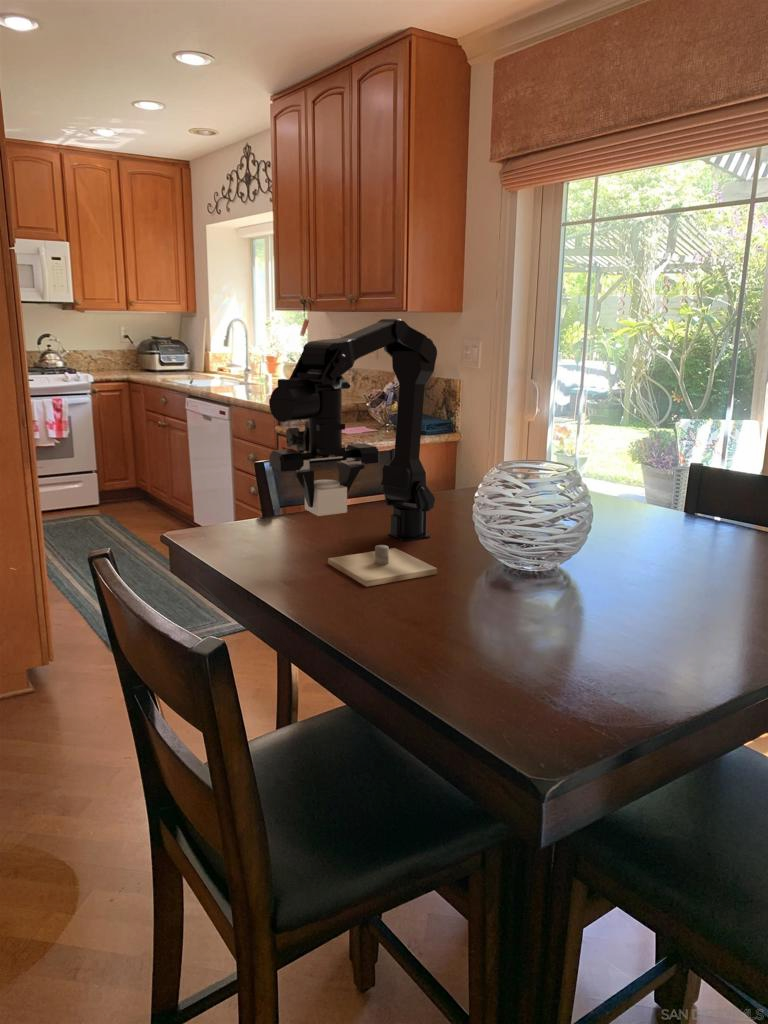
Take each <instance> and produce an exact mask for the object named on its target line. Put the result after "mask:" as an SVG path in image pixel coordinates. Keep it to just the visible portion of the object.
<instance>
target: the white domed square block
mask: <svg viewBox="0 0 768 1024" xmlns="http://www.w3.org/2000/svg"><path fill="white" fill-rule="evenodd" d="M304 510H306V511H307V512H310V513H311V514H312V515H315V516H317V517H321V516H330V515H336V514H337V515H338V514H339V515H340V514H345V513H348V494H347V487H345V486H343V485H340V482H339V480H335V479H316V480H314V500H313V507H309V506H308V504H307V501H306V499H305V498H304Z"/></svg>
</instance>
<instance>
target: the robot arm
mask: <svg viewBox="0 0 768 1024" xmlns="http://www.w3.org/2000/svg"><path fill="white" fill-rule="evenodd" d="M382 348H383V349H384V350H383V351H384V352H386V354H388V355H389V356H390V358H391V363H392V371H393V373H394V375H395V377H396V379H397V382H398V395H397V397H398V398H397V408H396V409H397V411H396V424H395V426H396V427H395V441H394V455H393V457H392V459H391V460H390V462H389V464H387V465H386V464H385V465H383V466H382V479H381V480H382V481H381V483H380V486H382V491H383V492H382V493H383V494H384V499H385V503H386V506H387V507H392V514H391V515H390V531H388V534H387V535H389V536H391V537H393V538H395V539H397V540H400V541H402V542H411V541H417V540H424V539H430V538H431V535H430V534H428V533H427V512H430V511H431V510H432V509H433V508H434V506H435V501H436V498H435V496H434V495H433V493H432V492H431V490H430V488H429V487H428V486H427V474H426V471H425V468H424V466H423V464H422V462H421V459H420V449H421V439H422V425H423V424H422V423H423V410H424V400H425V387H426V384H427V383H428V381H429V379H430V378H431V377H432V375H433V374H434V371H435V367H436V360H437V357H438V350H437V345H436V344H434V342H433V340H432V339H431V338H429V337H427V336H426V335H425V334H424V333H422V332H420V331H418V330H416V329H415V328H413V327H411V326H410V325H408V324H407V322H406V321H404V320H402V319H401V318H381V319H380V320H378V321H377V322H376V323H373V324H370V325H368V326H366V327H362V328H361V329H358V330H356V331H353V332H352V333H349V334H347V335H344V336H342V337H338V338H328V339H327V338H326V339H317V340H310V341H308V342H307V343H305V344H304V345H303V347H302V349H303V350H302V351H301V352H302V353H301V355H300V357H299V358H298V361H297V363H296V364H295V366H294V369H293V370H292V372H291V375H290V376H289V378H278V379H277V387H275V388H274V389H273V391H272V392H271V394H270V398H269V399H268V405H269V410H270V413H271V415H272V416H273V418H274V419H275V420H276V421H278V422H280V423H286V422H294V421H301V420H306V421H305V424H304V430H300V429H299V427H289V428H287V429H286V435H285V439H286V441H285V442H286V445H287V446H286V447H288V448H285V449H273V450H272V451H271V453H270V454H269V467H271V468H273V469H275V470H277V471H280V472H290V473H292V474H294V475H295V477H296V479H297V480H298V483H299V484H300V487H301V490H302V493H303V495H304V500H305V499H306V501H307V504H308V506H309V507H313V500H314V481H315V470H312V469H310V468H311V466H310V465H311V464H318V463H329V462H330V463H331V462H336V465H337V466H336V467H337V470H338V481H339V482H340V485H343V486H345V487H347V495H348V494H349V491H350V489H351V487H352V485H353V484H354V482H355V480H356V478H357V476H358V474H359V473H360V471H361V470H364V469H365V468H366V465H369V464H378V463H380V456H381V455H380V451H379V449H378V448H377V446H375V445H371V444H368V443H365V442H363V443H349V444H347V445H346V447H344V446H343V434H342V433H343V430H344V431H345V430H346V423H343V421H342V419H343V417H342V416H343V411H342V410H343V407H342V406H343V405H342V402H343V400H342V398H343V397H342V396H343V395H342V394H343V393H342V392H343V390H345V389H347V390H348V389H350V388H351V384H350V383H349V382H348V381H347V380H345V379H344V377H343V375H344V374H346V373H347V372H348V371H350V370H351V369H352V368H353V367H354V364H355V362H356V361H357V360H358V359H361V358H362V357H365V356H367V355H370V354H372V353H374V352H376V351H378V350H381V349H382ZM292 448H296V450H295V449H292ZM362 463H363V464H362Z"/></svg>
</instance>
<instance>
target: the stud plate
mask: <svg viewBox="0 0 768 1024" xmlns="http://www.w3.org/2000/svg"><path fill="white" fill-rule="evenodd" d="M327 564H328V565H330V566H331V567H333V568H335V569H336V570H338V571H340V572H341V573H343V574H345V575H346V576H348V577H349V578H352V579H353V580H354V581H356V582H358V583H360V584H361V585H362V586H364V587H372V586H377V585H384V584H389V583H396V582H399V581H404V580H405V581H406V580H410V579H416V578H422V577H423V578H424V577H427V576H432V575H437V574H438V568H437V567H434V566H433V565H430V564H429V563H427V562H425V561H423V560H421V559H419V558H416V557H415V556H412V555H410V554H408V553H406V552H404V551H402V550H400V549H398V548H395V547H391V548H389V546H388V545H385V544H378V545H375V546H374V550H373V551H372V550H371V551H366V552H361V553H355V554H346V555H342V556H335V557H328V558H327Z"/></svg>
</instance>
